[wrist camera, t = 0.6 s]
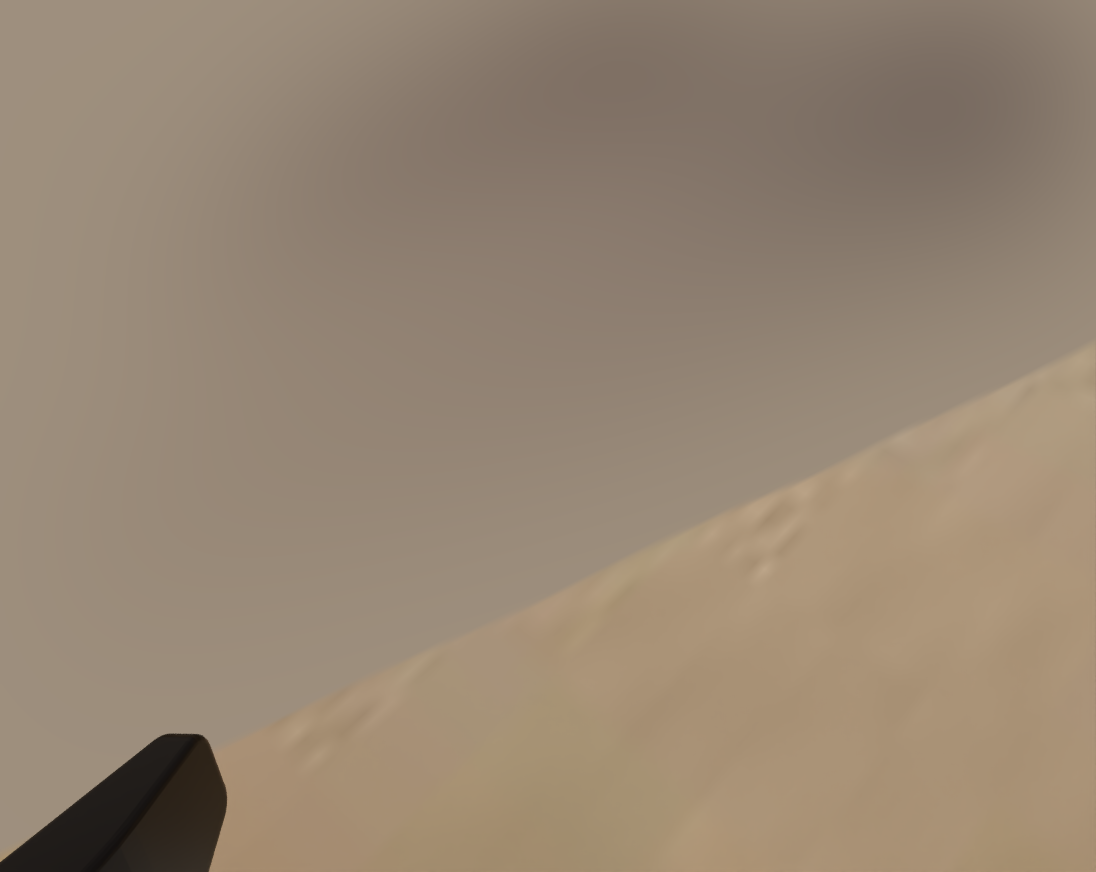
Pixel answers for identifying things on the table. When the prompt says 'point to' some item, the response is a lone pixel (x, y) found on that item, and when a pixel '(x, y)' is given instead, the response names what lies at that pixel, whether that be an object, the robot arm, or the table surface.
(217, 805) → the robot arm
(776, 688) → the table surface
